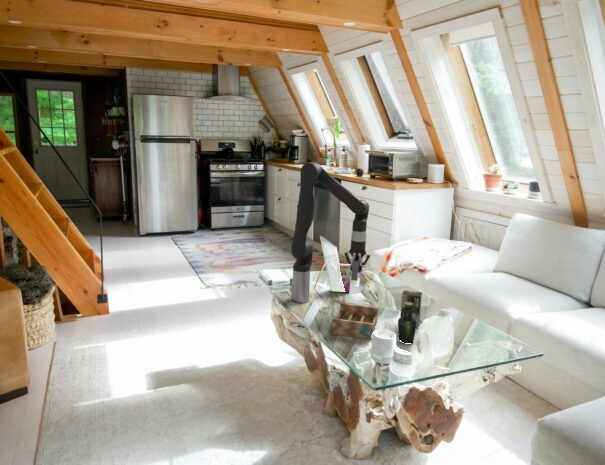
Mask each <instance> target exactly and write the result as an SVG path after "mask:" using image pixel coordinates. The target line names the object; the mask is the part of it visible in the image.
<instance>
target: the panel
mask: <svg viewBox="0 0 605 465" xmlns="http://www.w3.org/2000/svg"><path fill="white" fill-rule="evenodd" d="M351 261H352V260H351ZM359 261H360V259H353V261H352V271H351V277H350V281H358V279H359V277H360V275H361V272H360V273H359V266H360V262H359Z"/></svg>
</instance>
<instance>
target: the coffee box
mask: <svg viewBox="0 0 605 465" xmlns="http://www.w3.org/2000/svg"><path fill="white" fill-rule="evenodd" d="M401 293H402V294H401V307H400V317H403V316H404V312H403V311H402V308H403V307H405V302H411V303H413V308H414V309H415V312H414V313H412V316H411V317H412V318H414V319H415V320H416V322H417V324H416V329H419V328H420V324H421V312H422V298H423V292H422V291H421V292H420V291H412V290H403V291H402V292H401ZM418 327H419V328H418Z"/></svg>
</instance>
